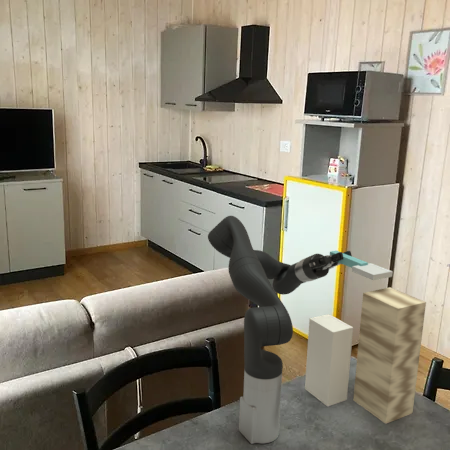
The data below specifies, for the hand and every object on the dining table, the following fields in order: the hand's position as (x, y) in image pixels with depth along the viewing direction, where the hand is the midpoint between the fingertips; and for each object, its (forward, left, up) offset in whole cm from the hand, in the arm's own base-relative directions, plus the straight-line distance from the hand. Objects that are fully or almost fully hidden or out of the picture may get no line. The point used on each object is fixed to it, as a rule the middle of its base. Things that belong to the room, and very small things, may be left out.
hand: (346, 254), depth 145 cm
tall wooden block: (0, -19, -38) cm, 43 cm away
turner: (0, -4, -3) cm, 5 cm away
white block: (-10, -7, -38) cm, 40 cm away
